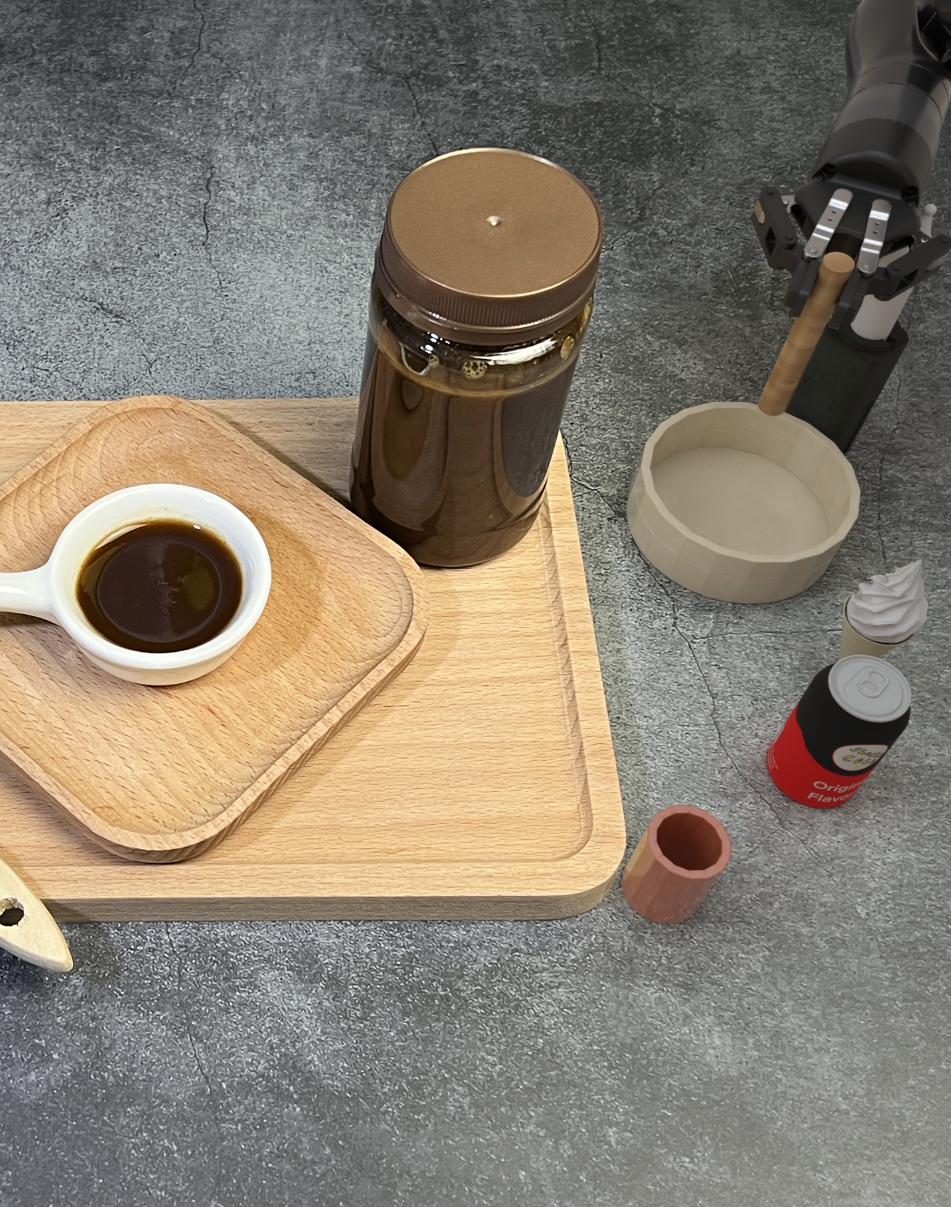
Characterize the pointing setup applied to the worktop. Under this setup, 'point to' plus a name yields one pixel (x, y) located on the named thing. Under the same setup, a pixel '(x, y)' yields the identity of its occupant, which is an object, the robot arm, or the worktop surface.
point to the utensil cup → (675, 864)
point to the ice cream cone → (884, 612)
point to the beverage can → (839, 730)
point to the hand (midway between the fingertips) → (818, 312)
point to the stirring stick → (806, 333)
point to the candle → (854, 363)
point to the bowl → (741, 502)
